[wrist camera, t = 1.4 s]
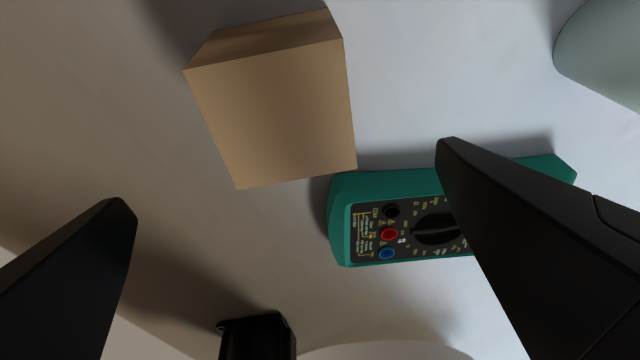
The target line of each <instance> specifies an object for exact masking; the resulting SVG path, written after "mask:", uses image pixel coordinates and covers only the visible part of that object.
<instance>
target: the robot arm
mask: <svg viewBox="0 0 640 360" xmlns="http://www.w3.org/2000/svg"><path fill="white" fill-rule="evenodd" d="M435 170H436V173H437V176H438V178H439V181H440V183H441V186H442V189H443V191H444V194H445V196H446V199H447V202H448V204H449V207H450V209H451V212H452V214H453V216H454V218H455V220H456V222H457V224H458V226H459V228H460V230H461V232H462V234H463V236H464V237H465V239H466V241H467V243H468V245H469V247H470V248H471V250H472V252H473V254H474V256H475V258H476V260H477V261H478V263H479V265H480V267H481V269H482V271H483V273H484V274H485V276H486V278H487V280H488V282H489V284H490V285H491V287H492V289H493V291H494V293H495V295H496V297H497V298H498V300H499V302H500V304H501V306H502V308H503V310H504V311H505V313H506V315H507V317H508V319H509V321H510V322H511V324H512V326H513V328H514V330H515V332H516V334H517V335H518V337H519V339H520V341H521V343H522V345H523V347H524V348H525V350H526V352H527V354H528V356H529V358H530V359H531V360H640V212H638V211H635V210H633V209H630V208H628V207H625V206H623V205H620V204H618V203H615V202H613V201H610V200H608V199H605V198H603V197H601V196H598V195H592V193H591V192H588V191H586V190H583V189H581V188H579V187H576V186H574V185H571V184H569V183H566V182H564V181H562V180H559V179H557V178H554V177H552V176H549V175H547V174H545V173H542V172H540V171H537V170H535V169H532V168H530V167H528V166H525V165H523V164H520V163H518V162H515V161H513V160H511V159H508V158H506V157H503V156H501V155H498V154H496V153H493V152H491V151H489V150H486V149H484V148H481V147H479V146H476V145H474V144H472V143H469V142H467V141H464V140H462V139H459V138H457V137H454V136H451V137H446V138H441V139H439V140H438V141H437V145H436V155H435ZM137 226H138V219H137V217H136V215H135V214H134V213H133V211H132V210H131V209H130V208H129V206H128V205H127V204H126V203H125V201H124V200H123V199H121V198H119V197H113V198H108V199H104V200H101V201H100V202H98V203H97V204H95V205H94V206H92V207H91V208H89V209H88V210H86V211H85V212H83V213H82V214H80V215H79V216H78V217H76V218H75V219H73V220H72V221H70V222H69V223H67V224H66V225H64V226H63V227H61V228H60V229H58V230H57V231H55V232H54V233H52V234H51V235H49V236H48V237H46V238H45V239H43V240H42V241H40V242H39V243H37V244H36V245H34V246H33V247H31V248H30V249H28V250H27V251H25V252H24V253H22V254H21V255H19V256H18V257H16V258H15V259H14V260H12V261H11V262H9V263H8V264H6V265H5V266H3V267H2V268H0V360H100V358H101V355H102V352H103V348H104V346H105V342H106V339H107V336H108V333H109V330H110V327H111V324H112V321H113V317H114V314H115V311H116V308H117V305H118V302H119V299H120V296H121V292H122V289H123V286H124V283H125V280H126V277H127V273H128V269H129V265H130V260H131V255H132V251H133V246H134V241H135V236H136V231H137ZM216 331H217V332H218V333H219V334H220V335H221V336H222V340H221V345H220V351H219V357H218V360H296V337H295V336H294V334H293V332H292V330H291V328H289V327H288V326H287V324H286V322H285V320H284V318H283V316H282V315H281V314H273V315H267V316H260V317H254V318H247V319H241V320H234V321H228V322H221V323H217V325H216Z"/></svg>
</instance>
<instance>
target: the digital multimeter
mask: <svg viewBox="0 0 640 360" xmlns="http://www.w3.org/2000/svg"><path fill="white" fill-rule="evenodd" d="M511 160H513V161H515V162H518V163H520V164H523V165H525V166H528V167H530V168H532V169H535V170H537V171H540V172H542V173H545V174H547V175H549V176H552V177H554V178H557V179H559V180H562V181H564V182H566V183H569V184H571V185H573V183H574V181H575V179H576V176H577V173H576V171H575V170H573V169H572V168H571V167H570V166H569V165H567V164H566V163H565V162H564V161H563V160H561V159H560V158H559V157H558V156H557V155H553V154H552V155H543V156H535V157H526V158H518V159H511ZM326 216H327V228H328V237H329V243H330V246H331V249H332V252H333V254H334V256H335V259H336V261H337V263H338V265H340V266H342V267H348V268H353V267H362V266H371V265H380V264H389V263H399V262H408V261H418V260H427V259H438V258H450V257H462V256H474V254H473V252H472V250H471V248H470V247H469V245H468V243H467V241H466V239H465V237H464V236H463V234H462V232H461V230H460V228H459V226H458V224H457V222H456V220H455V218H454V216H453V214H452V212H451V209H450V207H449V204H448V202H447V199H446V196H445V195H444V191H443V189H442V186H441V183H440V181H439V178H438V176H437V173H436V170H435V168H422V169H407V170H393V171H378V172H353V173H339V174H336V175H335V176H334V177H333V179H332V183H331V187H330V191H329V194H328V200H327V207H326ZM410 232H411V235H410Z"/></svg>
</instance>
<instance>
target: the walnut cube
mask: <svg viewBox="0 0 640 360" xmlns="http://www.w3.org/2000/svg"><path fill="white" fill-rule="evenodd" d="M182 72H183V74H184V76H185V78H186V81H187V83H188V85H189V87H190V89H191V91H192V93H193V96H194V98H195V100H196V102H197V104H198V106H199V108H200V111H201V113H202V115H203V117H204V119H205V121H206V124H207V126H208V128H209V130H210V132H211V134H212V136H213V139H214V141H215V143H216V145H217V147H218V149H219V151H220V154H221V156H222V158H223V160H224V162H225V164H226V166H227V169H228V171H229V173H230V175H231V177H232V179H233V181H234V184H235V186H236V188H237V190H242V189H247V188H253V187H259V186H264V185H270V184H275V183H281V182H287V181H292V180H298V179H303V178H309V177H315V176H320V175H326V174H332V173H337V172H343V171H348V170H354V169H358V167H357V158H356V150H355V141H354V132H353V123H352V114H351V105H350V97H349V88H348V79H347V70H346V61H345V52H344V44H343V37H342V35H341V33H340V31H339V29H338V27H337V25H336V23H335V21H334V19H333V17H332V15H331V13H330V11H329V9H328V7H327V8H322V9H317V10H312V11H308V12H303V13H298V14H293V15H288V16H284V17H279V18H274V19H269V20H264V21H260V22H255V23H250V24H245V25H240V26H235V27H231V28H226V29H221V30H216V31H214V32H213V33H212V34H211V36H210V37H209V38H208V39H207V40H206V42H205V43H204V44H203V45H202V46H201V48H200V49H199V50H198V51H197V53H196V54H195V55H194V56H193V57H192V59H191V60H190V61H189V62H188V63H187V65H186V66H185V67H184V68H183V70H182Z"/></svg>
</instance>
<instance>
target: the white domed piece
mask: <svg viewBox="0 0 640 360" xmlns="http://www.w3.org/2000/svg"><path fill="white" fill-rule="evenodd" d="M553 62H554V66H555V68H556V70H557V71H558V72H559V73H560V74H562V75H563V76H565V77H567V78H569V79H571V80H573V81H575V82H577V83H579V84H581V85H583V86H585V87H587V88H589V89H591V90H593V91H595V92H597V93H599V94H600V95H602V96H604V97H606V98H608V99H610V100H612V101H614V102H616V103H618V104H620V105H622V106H624V107H626V108H628V109H630V110H632V111H634V112H636V113H638V114H640V0H589V1H588V2H586V3H585V4H584V5H583V6H581V7H580V8H579V9H578V10H577V11H576V12H575V13H574V14H573V15H572V16H571V18H570V19H569V20H568V21H567V23H566V24H565V25H564V27H563V29H562V30H561V32H560V34H559V36H558V38H557V40H556V43H555V46H554V50H553Z"/></svg>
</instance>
